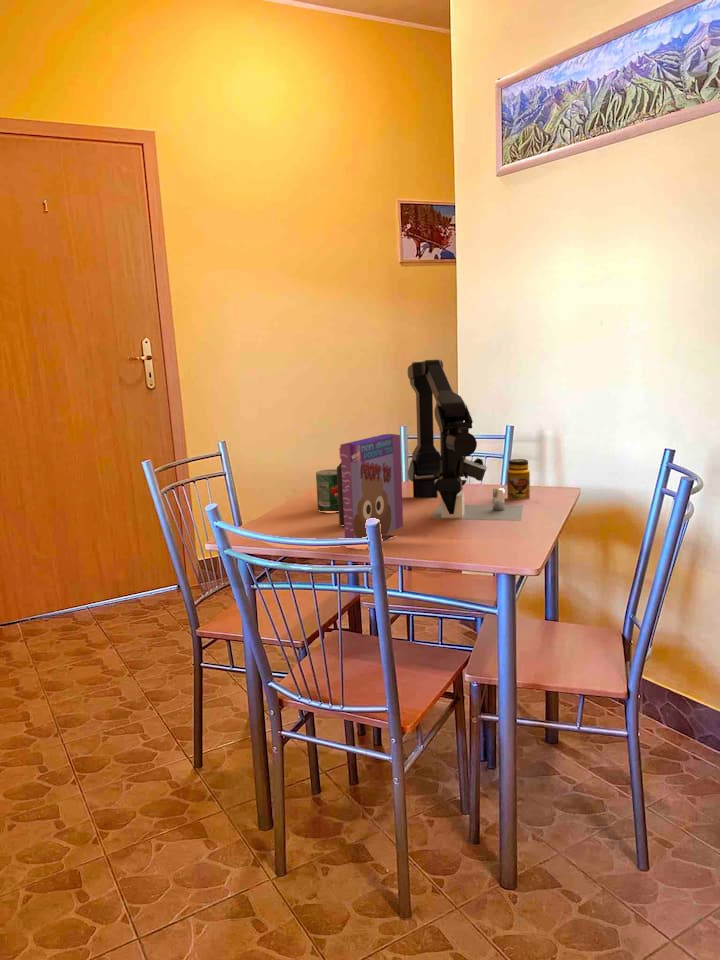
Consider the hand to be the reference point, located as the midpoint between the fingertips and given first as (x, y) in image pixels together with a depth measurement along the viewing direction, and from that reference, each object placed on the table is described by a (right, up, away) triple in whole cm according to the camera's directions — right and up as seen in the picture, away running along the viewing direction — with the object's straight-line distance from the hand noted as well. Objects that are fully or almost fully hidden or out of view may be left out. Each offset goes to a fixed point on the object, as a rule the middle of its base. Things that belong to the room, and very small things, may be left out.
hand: (453, 511), depth 181 cm
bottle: (-26, -4, +1) cm, 26 cm away
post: (+13, -1, +4) cm, 13 cm away
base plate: (+7, -2, +3) cm, 8 cm away
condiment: (+20, +2, +19) cm, 28 cm away
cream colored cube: (0, -1, 0) cm, 1 cm away
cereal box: (-20, -6, -13) cm, 25 cm away
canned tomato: (-31, -1, +18) cm, 36 cm away
